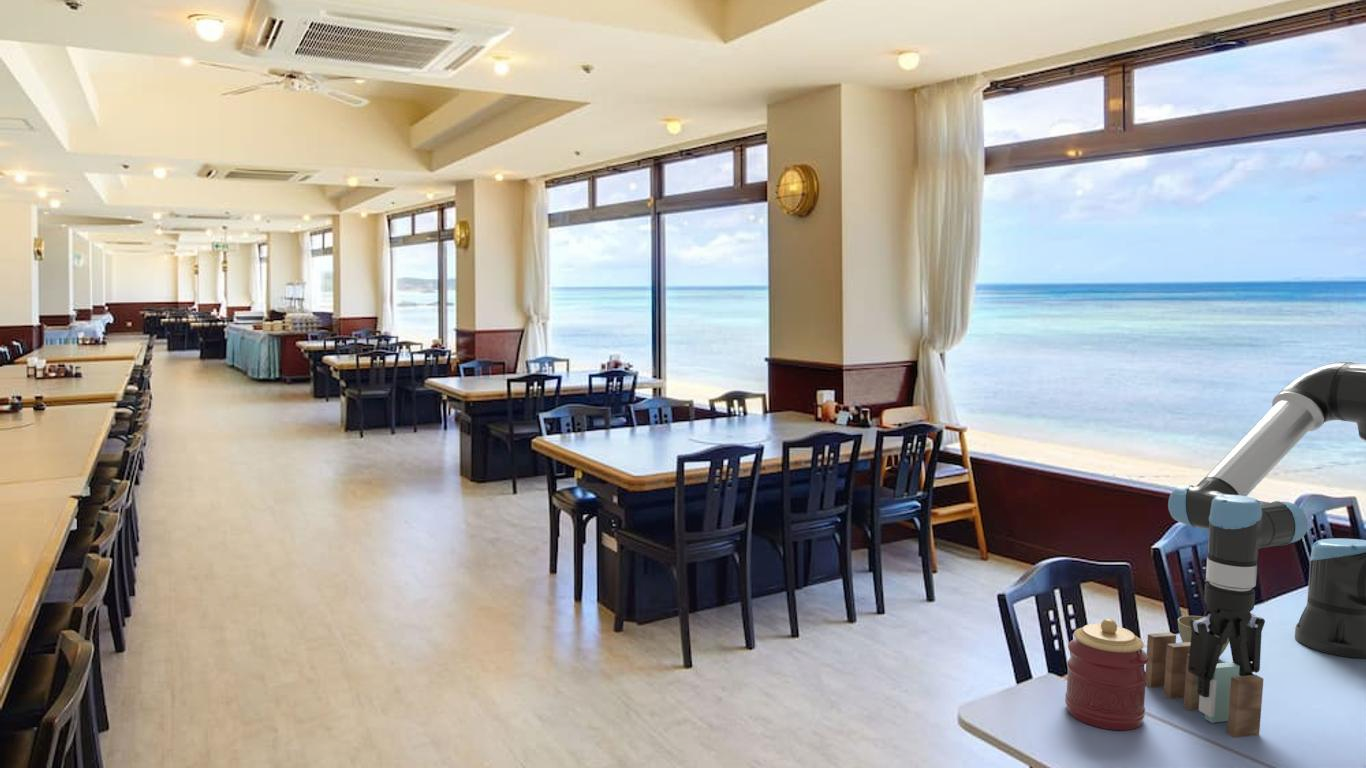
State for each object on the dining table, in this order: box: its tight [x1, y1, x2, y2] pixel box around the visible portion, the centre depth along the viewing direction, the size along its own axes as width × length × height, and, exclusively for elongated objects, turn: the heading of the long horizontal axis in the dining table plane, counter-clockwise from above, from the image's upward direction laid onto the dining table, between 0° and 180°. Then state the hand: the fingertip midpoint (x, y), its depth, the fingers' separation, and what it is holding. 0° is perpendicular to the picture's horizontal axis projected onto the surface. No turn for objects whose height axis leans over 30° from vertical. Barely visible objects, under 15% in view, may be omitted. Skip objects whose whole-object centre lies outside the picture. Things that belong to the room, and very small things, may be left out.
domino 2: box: [1163, 642, 1191, 700], centre depth 170 cm, size 5×2×10 cm, turn 102°
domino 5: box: [1226, 674, 1264, 738], centre depth 155 cm, size 5×2×10 cm, turn 102°
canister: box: [1064, 618, 1148, 731], centre depth 162 cm, size 13×13×18 cm
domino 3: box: [1183, 654, 1206, 712], centre depth 165 cm, size 5×2×10 cm, turn 102°
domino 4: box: [1204, 661, 1240, 724], centre depth 160 cm, size 5×2×10 cm, turn 102°
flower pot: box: [1177, 615, 1230, 658], centre depth 189 cm, size 10×10×7 cm
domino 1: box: [1145, 631, 1177, 688], centre depth 175 cm, size 5×2×10 cm, turn 102°
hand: (1220, 711), depth 160 cm, fingers open, 5 cm apart
